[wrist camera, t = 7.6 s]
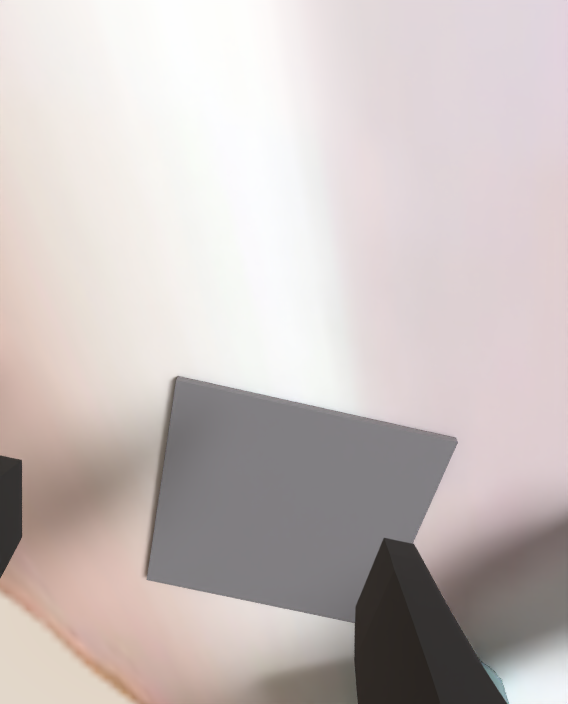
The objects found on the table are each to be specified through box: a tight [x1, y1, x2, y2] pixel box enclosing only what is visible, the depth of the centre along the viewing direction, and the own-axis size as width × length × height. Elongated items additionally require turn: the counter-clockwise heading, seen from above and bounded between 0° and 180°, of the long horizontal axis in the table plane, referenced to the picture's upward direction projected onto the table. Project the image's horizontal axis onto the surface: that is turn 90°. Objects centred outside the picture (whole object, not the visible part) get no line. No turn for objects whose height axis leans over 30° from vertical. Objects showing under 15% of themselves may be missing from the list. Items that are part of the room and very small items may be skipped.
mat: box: [147, 376, 458, 623], centre depth 23 cm, size 11×11×1 cm
